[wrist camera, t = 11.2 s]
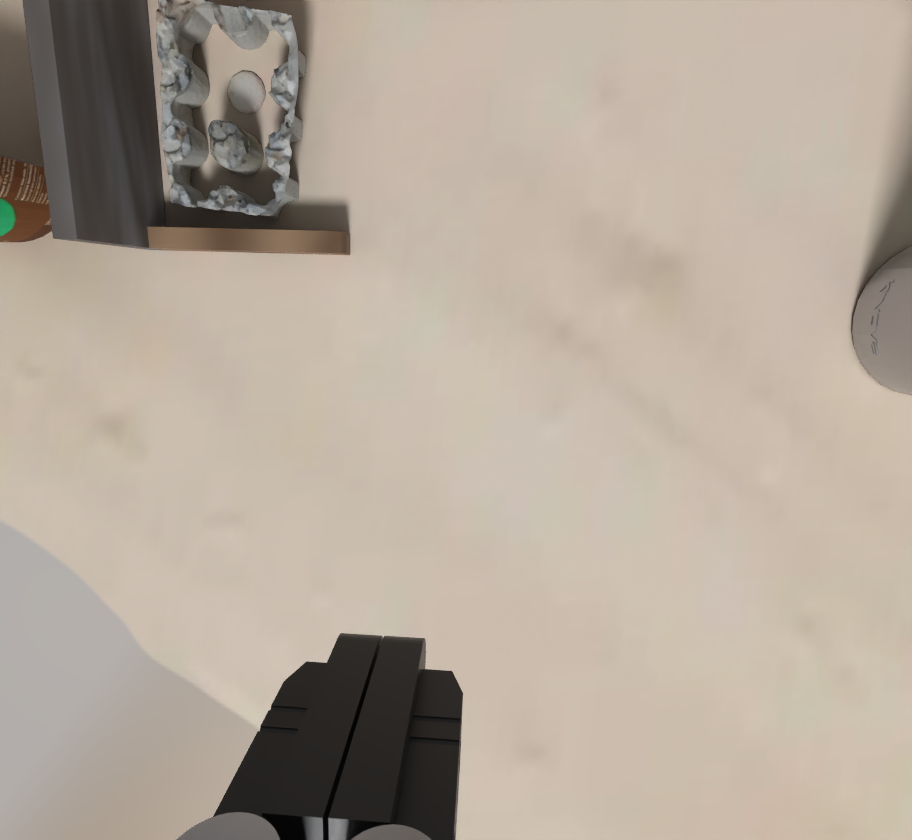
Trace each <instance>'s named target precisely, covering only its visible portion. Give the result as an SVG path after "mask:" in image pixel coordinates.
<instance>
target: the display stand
mask: <svg viewBox="0 0 912 840" xmlns="http://www.w3.org/2000/svg"><path fill="white" fill-rule="evenodd" d="M23 7H24V15H25V23H26V31H27V38H28V46H29V54H30V62H31V69H32V77H33V85H34V93H35V101H36V108H37V116H38V124H39V132H40V139H41V147H42V155H43V163H44V171H45V178H46V186H47V194H48V202H49V210H50V217H51V225H52V233H53V238H54V239H62V240H71V241H79V242H88V243H96V244H105V245H113V246H121V247H130V248H138V249H147V250H176V251H215V252H254V253H292V254H331V255H350V234H347V233H345V232H342V231H311V230H269V229H227V228H186V227H166V221H165V209H164V197H163V185H162V174H161V162H160V150H159V138H158V126H157V115H156V103H155V91H154V79H153V67H152V56H151V44H150V32H149V20H148V8H147V0H23Z"/></svg>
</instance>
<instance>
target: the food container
mask: <svg viewBox="0 0 912 840" xmlns="http://www.w3.org/2000/svg"><path fill="white" fill-rule="evenodd" d="M51 231H52V225H51V217H50V210H49V202H48V194H47V186H46V178H45V171H44V168H43V167H39V166H36V165H32V164H29V163H25V162H21V161H18V160H14V159H11V158H7V157H3V156H0V242H26V241H31V240H35V239H37V238H40V237H42V236H44V235H46V234H47V233H49V232H51Z"/></svg>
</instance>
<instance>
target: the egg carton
mask: <svg viewBox="0 0 912 840" xmlns="http://www.w3.org/2000/svg"><path fill="white" fill-rule="evenodd" d="M158 2H159V9H157V11H156V13H157V17H156V20H157V33H156V38H157V49H158V57H159V59H160V61H161V62H162V78H161V85H160V94H161V97H162V120H163V122H162V129H161V137H162V142H163V149H164V155H165V159H166V163H167V170H168V175H169V178H170V181H171V184H172V186H171V188H170V190H169V198H170V201H171V203H176V204H180V205H183V206H186V207H193V208H198V207H203V208H207V209H209V210H213V211H224V210H226V211H236V212H243V213H245V214H249V215H260V216H263V217H268V218H278V216H279V212H280V210H281V209H282V207H283V206H284V205H285V204H286V203H288V202H291V201H295V200H298V198H299V183H298V182H296V181H294V180H293V179H291V178H289V173H290V165H289V160H290V159H291V158H292V151H291V147H290V143H292V142H294V141H300V140H301V139H302V129H303V123H302V121H301V120H299V119H298V118H297V117H296V116H295V115H294V113H295V105H296V99H297V94H298V86H299V81H298V77H305V73H306V58H305V56H304V55H303V54H302V53H301V52H300V51H299V50H298V42H297V36H296V32H295V29H294V26H293V22H292V15H289V14H285V13H280V12H275V11H271V10H268V11H264V10H258V9H253V8H249V7H245V6H239V7H232V6H225V5H219V4H216V3H213V2H210V1H206V0H158ZM213 24H218V25H219V27H220V28H221V29H222V30H223V31H224V32H225V33H226V34H227V35H228V36H229V37H230V38H231V39H232V40H233V41H234V42H235V43H236V44H237V45H238V46H239V47H240V48H242V49H245V50H255V49H258V48H260V47H261V46H262V45H263V44H264V43H265V41H266V39H267V37H268V34H269V31H272V30H274V31H276V32H278V33H279V34H280V35H281V36H282V37H283V38H284V40H285V41H286V42H287V43H288V45H289V55H288V61H287V62H286V63H285V64H283V65H281V66H279V67H278V68H277V69H274V74H273V76H272V80H271V91H270V92H269V94H270V95H271V97H272V98H273V99H274V101H275V102H276V103H277V104H279V105H280V106H282V107H283V108H284V109H285V110H286V111H287V112H288V113H287V114H286V115H285V122H284V123H283V124H281V127H280V130H279V131H278V132H277V133H275V132H273V133H272V134H271V135H269V143H268V145H267V147H266V148H265V159H266V161H267V165H268V166H269V167H270V168H271V169H273V170H275V171H276V172H278V174H279V175H280V179H276V181H275V183H273V184H272V189H273V190H274V192H275V195H276V196H275V198H274V199H271V200H270V201H269V203H268V204H267V205H265V206H263V205H259V204H258V203H257V202H256V201H255V200H254V199H253V198H252V197H251V196H249V195H247V194H245V193H243V192H240V191H238V190H235V189H233V188H231V187H229V186H224V185H220V186H219V188H218V190H216V191H214V190H213V191H211V192H210V194H209V197H208V198H207V199H205V197H204V196H203V194H202V193H201V192H200V191H198V190H197V189H195V188H193V187H191V182H190V173H191V169H193V168H198V167H200V166H201V165H202V164H203V163H204V162H205V161H206V160H207V157H208V153H209V148H208V143H207V140H206V138H205V136H204V135H203V134H202V133H201V132H200V131H198V130H197V129H195V128H194V127H193V118H192V108H197V107H199V106H201V105H202V104H203V103H204V102H205V101H206V99H207V98H208V96H209V91H210V87H209V82H208V78H207V76H206V75H205V73H204V72H203V71H202V70H201V69H200V68H199V67H198V66H196V65H195V64H194V63H193V59H192V52H193V47H194V45H195V44H199V43H201V42H203V41H204V40H205V39H206V38H207V36H208V35H209V32H210V30H211V27H212V25H213ZM265 94H266V93H265V88H264V84H263V82H262V81H261V79H260V78H259V77H258V76H257V75H256V74H254V73H253V72H249V71H241V72H240V73H237V74H236V75H234V76H233V77H232V79H231V80H230V82H229V86H228V96H229V100H230V102H231V104H232V105H233V106H234V108H235V109H236V110H238V111H239V112H241V113H244V114H252V113H254V112H256V111H258V110H259V109H260V107H261V106H262V105H263V102H264V100H265ZM286 122H288V125H289V127H288V128H287V127H286ZM208 131H209V136H210V149H211V154H212V156H213V157H214V158H215V160H216V161H217V162H218V163H219V164H220V165H221V166H223V167H225V168H227V169H229V170H231V171H234V172H236V173H235V174H237V173H238V174H240V175H250V174H253V173H255V172H256V171H257V170H259V169H260V167H261V166H262V163H263V159H264V153H263V150H262V147H261V145H260V144H259V142H258V141H257V140H256V138H255V137H254V136H252V135H251V134H249V133H247V132H246V131H244V130H243V129H241V128H240V127H238V126H237V125H235V124H234V123H231V122H226V121H220V120H213V121H212V122H211V123H210V125H209V128H208ZM230 173H231V172H230Z"/></svg>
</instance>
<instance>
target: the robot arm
mask: <svg viewBox="0 0 912 840" xmlns="http://www.w3.org/2000/svg"><path fill="white" fill-rule="evenodd" d="M852 335H853V342H854V349H855V351H856V354H857V356H858V359H859V361H860V363H861V364H862V366H863V367H864V369H865V370H866V371H867V373H868V374H869V375H870V376H871V377H872V378H874V379H875V380H876V381H877V382H878V383H880V384H881V385H883V386H885V387H887V388H889V389H891V390H893V391H896V392H900V393H904V394H908V395H912V246H911V247H908V248H907V249H905V250H903V251H902V252H900V253H898V254H897V255H895V256H893V257H892V258H891V259H890V260H888V261H887V262H886V263H885V264H884V265H883V266H882V267H881V268H879V269H878V270H877V272H876V273H875V274H874V275H873V277H872V278H871V279H870V281H869V282H868V283H867V284H866V286H865V288H864V290H863V292H862V294H861V296H860V298H859V300H858V303H857V306H856V310H855V313H854V316H853V328H852ZM425 656H426V642H425V638H410V637H394V636H384V637H382V636H376V635H360V634H345V633H341V634H340V635H339V637H338V639H337V641H336V643H335V646H334V648H333V650H332V653H331V655H330V657H329V659H328V662H327V663H319V662H306V663H304V664H303V665H302V666H301V667H300V668H299V669H298V670H296V671H295V672H294V673H293V674H292V675H291V676H290V677H288V678H287V679H286V680H285V681H284V682H283V684H282V686H281V688H280V690H279V692H278V694H277V696H276V698H275V700H274V702H273V703H272V705H271V710H269V711H268V713H267V715H266V717H265V719H264V721H263V723H262V724H261V728H260V732H259V731H258V732H257V734H256V736H255V738H254V740H253V742H252V744H251V745H250V748H249V749H248V751H247V753H246V755H245V757H244V759H243V761H242V763H241V765H240V767H239V768H238V770H237V772H236V774H235V776H234V778H233V780H232V782H231V784H230V786H229V788H228V789H227V791H226V793H225V795H224V797H223V799H222V801H221V803H220V805H219V807H218V809H217V810H216V812H215V814H214V816H213V817H212V818H209V819H207V820H205V821H203V822H201V823H199V824H197V825H195V826H194V827H192V828H191V829H189V830H188V831H186V832H185V833H184V834H183V835H181V836H180V837H179V838H178V839H177V840H455V838H456V821H457V805H458V788H459V772H460V749H461V725H462V701H463V693H462V690H461V688H460V686H459V684H458V682H457V680H456V678H455V676H454V674H453V672H452V671H442V670H427V669H425Z"/></svg>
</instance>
